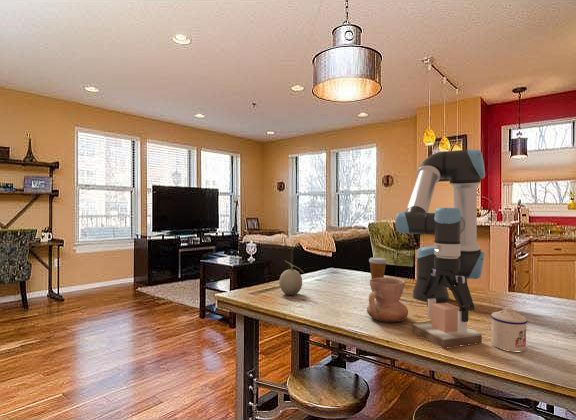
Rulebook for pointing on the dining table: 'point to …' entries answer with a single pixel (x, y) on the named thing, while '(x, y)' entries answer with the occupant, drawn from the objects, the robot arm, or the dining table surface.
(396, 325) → the dining table surface
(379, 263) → the disposable coffee cup
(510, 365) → the dining table surface
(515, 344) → the teacup with lid
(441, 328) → the block
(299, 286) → the fruit
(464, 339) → the plinth
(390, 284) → the ceramic jug
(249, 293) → the dining table surface
